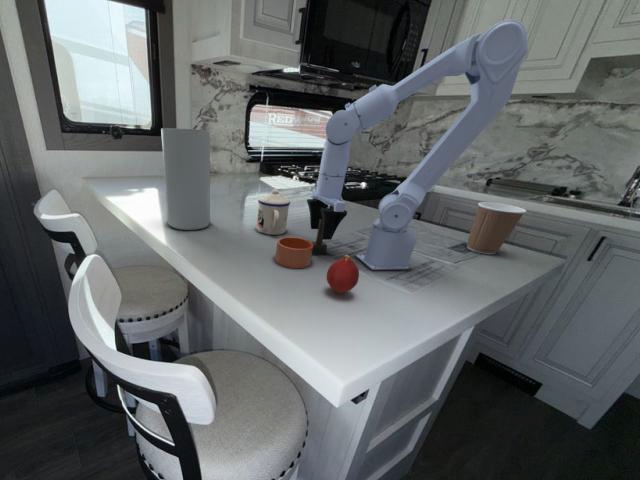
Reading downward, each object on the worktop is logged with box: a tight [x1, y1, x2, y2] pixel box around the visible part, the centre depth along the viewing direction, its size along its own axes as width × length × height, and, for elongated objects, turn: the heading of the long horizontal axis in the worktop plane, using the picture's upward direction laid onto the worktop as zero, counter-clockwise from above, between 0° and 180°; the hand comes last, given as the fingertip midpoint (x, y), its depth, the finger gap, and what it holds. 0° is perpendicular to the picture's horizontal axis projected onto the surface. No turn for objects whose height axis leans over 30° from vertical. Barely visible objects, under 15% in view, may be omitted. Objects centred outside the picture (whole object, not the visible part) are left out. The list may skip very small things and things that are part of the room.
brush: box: [310, 219, 328, 255], centre depth 75 cm, size 4×2×8 cm, turn 99°
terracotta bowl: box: [274, 236, 313, 269], centre depth 71 cm, size 8×8×4 cm
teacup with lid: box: [256, 188, 291, 236], centre depth 87 cm, size 12×9×12 cm
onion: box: [326, 254, 360, 295], centre depth 58 cm, size 6×6×8 cm
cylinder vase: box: [160, 127, 211, 231], centre depth 86 cm, size 12×12×25 cm
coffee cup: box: [466, 201, 527, 255], centre depth 83 cm, size 10×10×12 cm
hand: (320, 233), depth 75 cm, fingers open, 7 cm apart
